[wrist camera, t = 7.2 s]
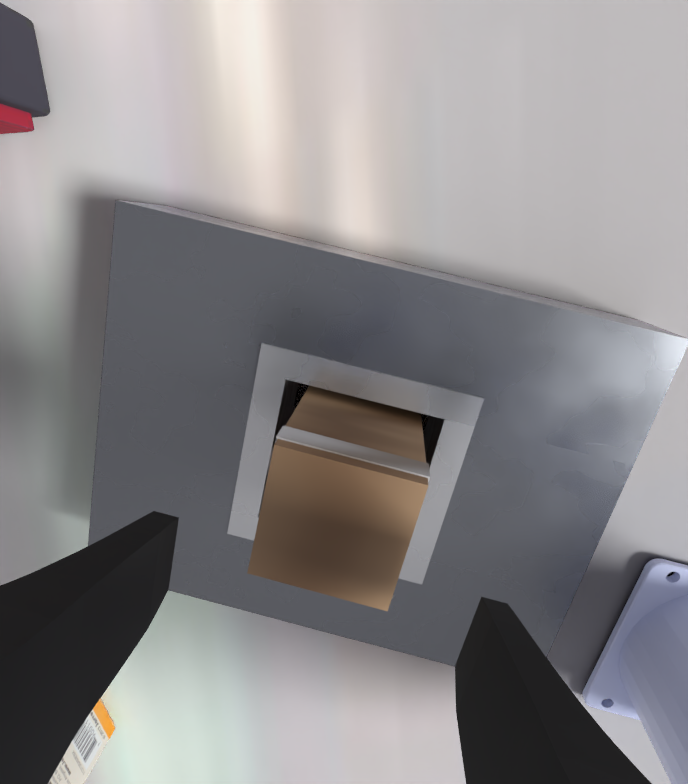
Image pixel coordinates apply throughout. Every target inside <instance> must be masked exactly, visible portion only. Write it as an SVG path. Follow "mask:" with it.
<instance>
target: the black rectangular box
mask: <svg viewBox="0 0 688 784" xmlns="http://www.w3.org/2000/svg"><path fill="white" fill-rule="evenodd" d="M49 113H50V108H49V102H48V96H47V91H46V86H45V81H44V76H43V71H42V65H41V60H40V55H39V50H38V45H37V40H36V35H35V30H34V26H33V23H32V22H31V21H30V20H29V19H28V18H26V17H25V16H23V15H21V14H19V13H18V12H16V11H14V10H12V9H10V8H9V7H7V6H5V5H3V4H2V3H0V134H5V133H17V132H29V131H33V130H34V126H33V121H32V117H40V116H47V115H48V114H49Z"/></svg>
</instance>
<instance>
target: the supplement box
mask: <svg viewBox="0 0 688 784" xmlns="http://www.w3.org/2000/svg"><path fill="white" fill-rule="evenodd" d="M114 729H115V726H114V723H113V721H112V719H111V718H110V716H109V714H108V712H107V710H106V709H105V706H104V704H103V703H102V701H101V698H100V699H99V701H98V702H97V704H96V705H95V707H94V708H93V710H92V711H91V712H90V714H89V715H88V717H87V718H86V720H85V721H84V723H83V725H82V726H81V728H80V729H79V731H78V732H77V734H76V736H75V737H74V739H73V740H72V742H71V744H70V746H69V747H68V749H67V751H66V753H65V754H64V756H63V758H62V760H61V761H60V763H59V765H58V767H57V769H56V770H55V772H54V774H53V776H52V777H51V779H50V781H49V783H48V784H84V783H85V781H86V779H87V778H88V776H89V774H90V773H91V771H92V769H93V767H94V765H95V763H96V762H97V760H98V759H99V756H100V754H101V753H102V751H103V749H104V748H105V746H106V744H107V742H108V740H109V738H110V737H111V735H112V733H113V731H114Z"/></svg>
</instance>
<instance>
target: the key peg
mask: <svg viewBox="0 0 688 784" xmlns="http://www.w3.org/2000/svg"><path fill="white" fill-rule="evenodd" d="M429 479H430V471H429V464H428V463H426V456H425V447H424V437H423V428H422V418H421V413H417V412H413V411H409V410H405V409H402V408H398V407H394V406H390V405H386V404H382V403H378V402H374V401H370V400H366V399H362V398H358V397H354V396H350V395H346V394H342V393H338V392H334V391H330V390H326V389H322V388H318V387H314V386H310V385H309V387H308V388H307V390H306V392H305V394H304V395H303V397H302V399H301V400H300V402H299V404H298V405H297V407H296V409H295V410H294V412H293V414H292V416H291V417H290V419H289V421H288V422H287V424H286V426H284V425H283V426H282V428H281V430H280V431H279V433H278V435H277V436H276V440H275V444H274V448H273V453H272V458H271V463H270V467H269V472H268V477H267V482H266V486H265V491H264V496H263V501H262V505H261V510H260V515H259V520H258V524H257V529H256V534H255V539H254V543H253V548H252V553H251V558H250V562H249V567H248V572H247V573H248V574H252V575H255V576H259V577H263V578H266V579H270V580H274V581H277V582H281V583H285V584H288V585H292V586H296V587H299V588H303V589H307V590H310V591H314V592H318V593H322V594H325V595H329V596H333V597H336V598H340V599H344V600H347V601H351V602H355V603H358V604H362V605H366V606H369V607H373V608H377V609H380V610H384V611H388V608H389V605H390V602H391V599H392V596H393V593H394V590H395V587H396V584H397V581H398V578H399V575H400V572H401V568H402V565H403V562H404V559H405V556H406V553H407V550H408V547H409V544H410V541H411V538H412V535H413V532H414V529H415V525H416V522H417V519H418V516H419V513H420V510H421V507H422V504H423V501H424V498H425V495H426V492H427V489H428V486H429V485H428V482H429Z"/></svg>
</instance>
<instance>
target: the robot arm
mask: <svg viewBox="0 0 688 784" xmlns="http://www.w3.org/2000/svg"><path fill="white" fill-rule="evenodd" d="M178 521H179V517H175V516H171V515H168V514H164V513H160V512H156V511H153V512H151V513H149V514H147V515H145V516H143V517H142V518H140V519H138V520H136V521H134V522H132V523H131V524H129V525H127V526H125V527H123V528H121V529H120V530H118V531H116V532H114V533H112V534H110V535H109V536H107V537H105V538H103V539H101V540H99V541H97V542H95V543H93V544H91V545H90V546H88V547H86V548H84V549H82V550H80V551H78V552H76V553H74V554H72V555H70V556H67V557H65V558H63V559H61V560H59V561H57V562H55V563H52V564H50V565H48V566H46V567H44V568H42V569H40V570H38V571H35V572H33V573H31V574H28V575H26V576H24V577H21V578H19V579H16V580H14V581H11V582H9V583H6V584H4V585H1V586H0V784H48V783H49V781H50V779H51V777H52V776H53V774H54V772H55V770H56V769H57V767H58V765H59V763H60V761H61V760H62V758H63V756H64V754H65V753H66V751H67V749H68V747H69V746H70V744H71V742H72V740H73V739H74V737H75V736H76V734H77V732H78V731H79V729H80V728H81V726H82V725H83V723H84V721H85V720H86V718H87V717H88V715H89V714H90V712H91V711H92V710H93V708H94V707H95V705H96V704H97V702H98V701H99V699H100V698H101V696H102V695H103V694H104V692H105V691H106V689H107V688H108V686H109V685H110V683H111V682H112V680H113V679H114V678H115V676H116V675H117V673H118V672H119V670H120V669H121V667H122V666H123V664H124V663H125V662H126V660H127V659H128V657H129V656H130V654H131V653H132V651H133V650H134V648H135V647H136V645H137V644H138V642H139V641H140V639H141V638H142V636H143V635H144V633H145V632H146V630H147V629H148V627H149V625H150V624H151V622H152V620H153V618H154V616H155V614H156V612H157V611H158V609H159V607H160V605H161V603H162V601H163V599H164V597H165V595H166V593H167V591H168V589H169V583H170V576H171V569H172V562H173V555H174V549H175V542H176V535H177V528H178ZM670 572H675V573H674V574H673V575H672V576H667V575H668V574H669V573H670ZM455 679H456V713H457V720H458V728H459V735H460V743H461V750H462V757H463V764H464V771H465V778H466V784H651V783H650V781H649V780H648V779H647V778H646V777H645V776H644V775H643V774H642V773H641V772H640V771H639V770H638V769H637V768H636V767H635V766H634V764H633V763H632V762H631V761H630V760H629V759H628V758H627V757H626V756H625V755H624V754H623V752H622V751H621V750H620V749H619V748H618V747H617V746H616V745H615V744H614V743H613V741H612V740H611V739H610V738H609V737H608V736H607V734H606V733H605V732H604V731H603V730H602V729H601V727H600V726H599V725H598V724H597V723H596V721H595V720H594V719H593V718H592V716H591V715H590V714H589V713H588V712H587V710H586V709H585V708H584V707H583V705H582V704H581V703H580V702H579V700H578V699H577V698H576V697H575V695H574V694H573V693H572V691H571V690H570V689H569V688H568V686H567V685H566V684H565V682H564V681H563V680H562V678H561V677H560V676H559V674H558V673H557V672H556V670H555V669H554V667H553V666H552V665H551V663H550V662H549V661H548V659H547V658H546V656H545V655H544V654H543V652H542V651H541V649H540V648H539V647H538V645H537V644H536V642H535V641H534V640H533V638H532V637H531V635H530V634H529V632H528V631H527V630H526V628H525V627H524V625H523V624H522V622H521V621H520V620H519V618H518V617H517V615H516V614H515V613H514V611H513V610H512V609H511V607H510V606H509V605H508V603H504V602H500V601H496V600H492V599H488V598H485V597H481V599H480V602H479V604H478V607H477V610H476V612H475V615H474V617H473V620H472V623H471V625H470V628H469V631H468V633H467V636H466V638H465V641H464V644H463V646H462V649H461V651H460V654H459V657H458V659H457V662H456V664H455ZM582 695H583V698H584V700H585V703H586V704H587V705H588V706H590V707H592V708H596V709H600V710H604V711H607V712H611V713H615V714H619V715H622V716H626V717H630V718H634V719H638V720H641V722H642V724H643V727H644V729H645V731H646V733H647V735H648V737H649V739H650V741H651V743H652V745H653V747H654V749H655V751H656V753H657V755H658V757H659V759H660V761H661V763H662V765H663V768H664V770H665V772H666V774H667V776H668V778H669V780H670V782H671V784H688V565H684V564H680V563H676V562H672V561H668V560H665V559H658V558H657V559H653V560H651V561H649V562H648V563H647V564H646V565H645V567H644V569H643V571H642V573H641V575H640V577H639V579H638V581H637V583H636V585H635V587H634V589H633V591H632V593H631V595H630V597H629V599H628V601H627V603H626V605H625V607H624V609H623V611H622V613H621V615H620V617H619V619H618V621H617V623H616V625H615V627H614V629H613V631H612V633H611V635H610V637H609V640H608V642H607V644H606V646H605V648H604V650H603V652H602V654H601V656H600V658H599V660H598V662H597V664H596V666H595V668H594V670H593V672H592V674H591V676H590V678H589V680H588V682H587V684H586V686H585V688H584V690H583V693H582ZM604 699H607V700H604Z"/></svg>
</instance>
